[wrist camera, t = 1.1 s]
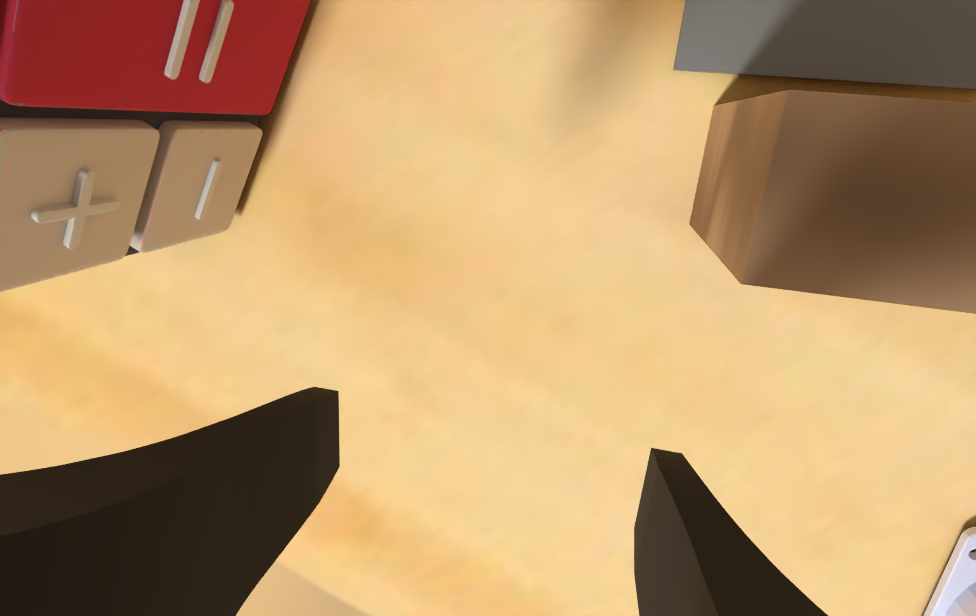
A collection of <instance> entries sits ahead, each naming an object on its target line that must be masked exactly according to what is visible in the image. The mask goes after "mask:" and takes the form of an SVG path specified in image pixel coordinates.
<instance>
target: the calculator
mask: <svg viewBox="0 0 976 616" xmlns="http://www.w3.org/2000/svg"><path fill="white" fill-rule="evenodd" d="M310 1H311V0H0V292H2V291H6V290H10V289H14V288H17V287H21V286H25V285H28V284H32V283H36V282H39V281H43V280H47V279H50V278H54V277H58V276H62V275H65V274H69V273H73V272H76V271H80V270H84V269H87V268H91V267H95V266H99V265H102V264H106V263H110V262H113V261H116V260H119V259H121V258H123V257H124V256H127V255H131V254H135V253H139V252H142V253H145V252H150V251H154V250H158V249H161V248H165V247H169V246H172V245H176V244H180V243H183V242H187V241H191V240H195V239H198V238H202V237H206V236H209V235H213V234H217V233H220V232H223V231H226V230H227V229H228V228H229V226H230V224H231V221H232V218H233V216H234V213H235V210H236V207H237V205H238V202H239V199H240V196H241V193H242V191H243V188H244V185H245V182H246V180H247V177H248V174H249V171H250V168H251V166H252V163H253V160H254V157H255V155H256V152H257V149H258V146H259V143H260V141H261V138H262V133H263V132H262V130H261V129H260V128H258V124H259V122H260V119H261V116H262V115H266V114H269V113H270V111H271V109H272V107H273V105H274V102H275V99H276V96H277V93H278V91H279V88H280V85H281V82H282V80H283V77H284V74H285V71H286V68H287V66H288V63H289V60H290V57H291V55H292V52H293V49H294V46H295V43H296V41H297V38H298V35H299V32H300V30H301V27H302V24H303V21H304V18H305V16H306V13H307V10H308V7H309V4H310Z"/></svg>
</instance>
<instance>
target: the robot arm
mask: <svg viewBox="0 0 976 616" xmlns="http://www.w3.org/2000/svg"><path fill="white" fill-rule="evenodd" d="M339 467H340V465H339V400H338V391H334V390H329V389H323V388H318V387H312V388H308V389H305V390H302V391H299V392H296V393H293V394H290V395H288V396H285V397H282V398H280V399H277V400H275V401H272V402H270V403H267V404H265V405H262V406H260V407H257V408H254V409H252V410H249V411H247V412H244V413H242V414H239V415H237V416H234V417H231V418H229V419H226V420H223V421H220V422H217V423H215V424H212V425H209V426H206V427H203V428H201V429H198V430H195V431H192V432H189V433H187V434H184V435H180V436H177V437H174V438H171V439H168V440H164V441H161V442H158V443H154V444H150V445H147V446H143V447H139V448H136V449H132V450H128V451H124V452H120V453H116V454H111V455H107V456H102V457H97V458H93V459H89V460H83V461H79V462H74V463H70V464H65V465H59V466H54V467H48V468H42V469H36V470H30V471H24V472H17V473H9V474H3V475H0V616H236V614H237V612H238V611H239V609H240V608H241V606H242V605H243V603H244V602H245V600H246V599H247V598H248V596H249V595H250V593H251V592H252V591H253V589H254V588H255V586H256V585H257V584H258V582H259V581H260V580H261V578H262V577H263V576H264V574H265V573H266V572H267V571H268V569H269V568H270V567H271V565H272V564H273V563H274V562H275V560H276V559H277V558H278V556H279V555H280V554H281V552H282V551H283V550H284V549H285V547H286V546H287V545H288V543H289V542H290V541H291V540H292V538H293V537H294V536H295V534H296V533H297V532H298V530H299V529H300V528H301V526H302V525H303V524H304V522H305V521H306V520H307V518H308V517H309V516H310V515H311V513H312V512H313V510H314V509H315V508H316V506H317V505H318V504H319V502H320V500H321V499H322V497H323V495H324V494H325V492H326V490H327V488H328V487H329V485H330V483H331V481H332V479H333V478H334V476H335V474H336V472H337V470H338V468H339ZM974 549H976V527H971V528H968V529H966V530H965V531H964V532H963V533H962V534H961V536H960V538H959V540H958V542H957V545H956V547H955V549H954V551H953V553H952V555H951V557H950V560H949V562H948V564H947V566H946V568H945V570H944V572H943V575H942V577H941V579H940V581H939V583H938V585H937V587H936V590H935V592H934V594H933V596H932V598H931V600H930V603H929V605H928V607H927V609H926V611H925V613H924V615H923V616H976V551H974V552H972V553H971V552H970V551H971V550H974ZM634 574H635V582H636V591H637V599H638V608H639V616H828V615H827V614H826V613H824V612H823V611H822V610H821V609H820V608H819V607H818V606H816V605H815V604H814V603H813V602H812V601H811V600H810V599H809V598H808V597H807V596H806V595H805V594H804V593H802V592H801V591H800V590H799V589H798V588H797V587H796V586H795V585H794V584H793V583H792V582H791V581H790V580H789V579H788V578H787V577H785V576H784V575H783V574H782V573H781V572H780V571H779V570H778V569H777V568H776V567H775V566H774V565H773V564H772V562H771V561H770V560H769V559H768V558H767V557H766V556H765V555H764V554H763V553H762V552H761V551H760V550H759V548H758V547H757V546H756V545H755V544H754V543H753V542H752V541H751V540H750V539H749V538H748V537H747V535H746V534H745V533H744V532H743V531H742V530H741V528H740V527H739V526H738V525H737V524H736V523H735V521H734V520H733V519H732V518H731V517H730V515H729V514H728V513H727V512H726V511H725V509H724V508H723V507H722V506H721V504H720V503H719V502H718V501H717V499H716V498H715V497H714V496H713V494H712V493H711V492H710V490H709V489H708V488H707V486H706V485H705V484H704V482H703V481H702V480H701V478H700V477H699V476H698V474H697V473H696V472H695V470H694V469H693V468H692V466H691V465H690V464H689V462H688V461H687V460H686V458H685V457H684V456H683V454H682V453H676V452H671V451H665V450H660V449H654V448H651V452H650V456H649V461H648V466H647V470H646V475H645V480H644V485H643V489H642V494H641V499H640V504H639V508H638V513H637V518H636V522H635V527H634Z"/></svg>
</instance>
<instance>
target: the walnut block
mask: <svg viewBox="0 0 976 616" xmlns="http://www.w3.org/2000/svg"><path fill="white" fill-rule="evenodd" d="M690 226H691V227H692V228H693V229H694V230H695V231H696V233H697V234H698V235H699V236H700V237H701V238H702V239H703V241H704V242H705V243H706V244H707V245H708V246H709V248H710V249H711V250H712V251H713V252H714V253H715V254H716V256H717V257H718V258H719V259H720V260H721V261H722V263H723V264H724V265H725V266H726V267H727V268H728V270H729V271H730V272H731V273H732V274H733V275H734V276H735V278H736V279H737V280H738V281H739V282H740V283H741V284H745V285H753V286H761V287H769V288H777V289H785V290H793V291H800V292H808V293H816V294H824V295H832V296H840V297H848V298H856V299H863V300H871V301H879V302H887V303H895V304H903V305H911V306H919V307H927V308H934V309H942V310H950V311H958V312H966V313H974V314H976V102H965V101H951V100H936V99H921V98H907V97H892V96H877V95H862V94H848V93H833V92H818V91H804V90H784V91H780V92H775V93H770V94H766V95H761V96H757V97H752V98H747V99H743V100H738V101H733V102H729V103H724V104H720V105H715V106H714V107H713V112H712V117H711V121H710V126H709V131H708V136H707V141H706V146H705V151H704V155H703V160H702V165H701V170H700V175H699V180H698V185H697V190H696V194H695V199H694V204H693V209H692V214H691V219H690Z"/></svg>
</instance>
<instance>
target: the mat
mask: <svg viewBox="0 0 976 616" xmlns="http://www.w3.org/2000/svg"><path fill="white" fill-rule="evenodd" d="M673 70H679V71H694V72H710V73H725V74H741V75H756V76H772V77H787V78H803V79H818V80H834V81H849V82H865V83H880V84H896V85H911V86H927V87H943V88H958V89H974V90H976V0H686V2H685V8H684V13H683V19H682V24H681V30H680V36H679V41H678V47H677V52H676V58H675V64H674V69H673Z"/></svg>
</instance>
